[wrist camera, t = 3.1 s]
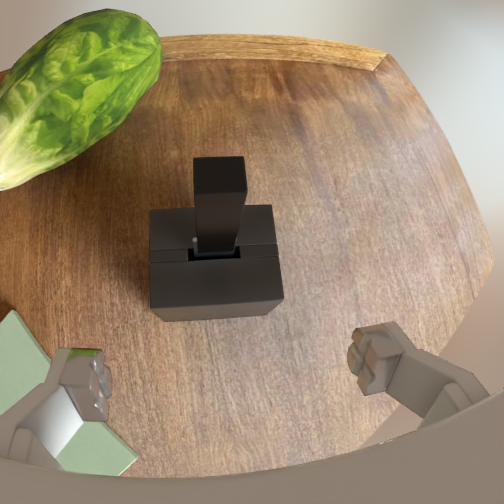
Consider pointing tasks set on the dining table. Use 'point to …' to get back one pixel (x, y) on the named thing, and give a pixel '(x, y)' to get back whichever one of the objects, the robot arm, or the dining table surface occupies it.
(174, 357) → the dining table surface
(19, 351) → the cutting board
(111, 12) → the lettuce
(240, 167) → the knife
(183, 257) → the knife block
